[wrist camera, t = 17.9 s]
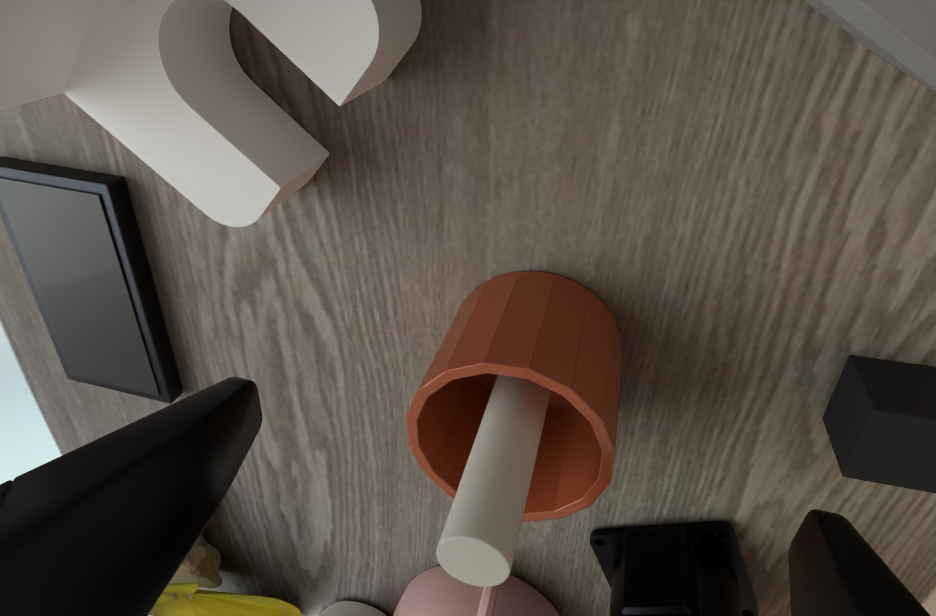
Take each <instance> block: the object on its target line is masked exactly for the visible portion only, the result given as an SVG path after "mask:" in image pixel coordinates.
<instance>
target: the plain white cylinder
mask: <svg viewBox="0 0 936 616" xmlns="http://www.w3.org/2000/svg"><path fill="white" fill-rule="evenodd" d="M550 393H551V390H549V389H547V388H545V387H543V386H541V385H539V384H537V383H535V382H532V381H530V380H528V379H524V378H518V377H511V376H504V375H497V378H496V381H495V384H494V387H493V390H492V393H491V395H490V398H489V401H488V404H487V407H486V410H485V413H484V415H483V418H482V421H481V424H480V427H479V430H478V433H477V435H476V438H475V441H474V444H473V447H472V450H471V453H470V455H469V458H468V461H467V464H466V467H465V470H464V473H463V475H462V478H461V481H460V484H459V487H458V490H457V493H456V495H455V498H454V501H453V504H452V507H451V510H450V513H449V515H448V518H447V521H446V524H445V527H444V530H443V532H442V535H441V538H440V541H439V544H438V547H437V559H438V561H439V563H440V565H441V566H442V568H443V569H444V570H445V571H446V572H447V573H449V574H450V575H451V576H453V577H454V578H456V579H458V580H460V581H462V582H464V583H467V584H470V585H474V586H480V587H491V586H496V585H499V584H501V583H503V582H504V581H506V580H507V578H508V577H509V575H510V572H511V568H512V563H513V559H514V554H515V550H516V546H517V541H518V537H519V532H520V528H521V523H522V519H523V514H524V510H525V505H526V501H527V496H528V492H529V487H530V483H531V478H532V474H533V469H534V465H535V460H536V456H537V451H538V447H539V442H540V438H541V433H542V429H543V424H544V420H545V415H546V411H547V407H548V402H549V398H550Z"/></svg>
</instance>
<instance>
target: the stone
mask: <svg viewBox="0 0 936 616" xmlns="http://www.w3.org/2000/svg"><path fill="white" fill-rule="evenodd" d="M220 565H221V555H220V553H219V551H218V549H216V548H214V547H212V546H211V545H210V544H208V543H207V542H206V540H205V539H204V538H203V535H202V534H201V535H200V537H199V538H198V540H197V541H196V543H195V544H194V546H193V547H192V549H191V550H190V552H189V553H188V555H187V556H186V558H185V560H184V561H183V563H182V564H181V566H180V567H179V569H178V570H177V572H176V573H175V575H174V576H173V578H172V579H171V581H170V582H169V584H172V583H194V582H195V583H198V584H199V585H198V587H205V588H215V587H218V586H220V585H221V584H222V579H221V577H220V575H219V567H220Z"/></svg>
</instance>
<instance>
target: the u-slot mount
mask: <svg viewBox="0 0 936 616" xmlns="http://www.w3.org/2000/svg"><path fill="white" fill-rule="evenodd" d="M233 7H234V8H235V9H236V10H238V11H239V12H240V13H241V14H242V15H243V16H244V17H246V18H247V19H248V20H249V21H250V22H251V23H252V24H253V25H254V26H255V27H256V28H257V29H258V30H259V31H260V32H261V33H262V34H263V35H265V36H266V37H267V38H268V39H269V40H270V41H271V42H272V43H273V44H274V45H275V46H276V47H277V48H278V49H279V50H280V51H281V52H282V53H284V54H285V55H286V56H287V57H288V58H289V59H290V60H291V61H292V62H293V63H294V64H295V65H296V66H297V67H298V68H299V69H300V70H301V71H303V72H304V73H305V74H306V75H307V76H308V77H309V78H310V79H311V80H312V81H313V82H314V83H315V84H316V85H317V86H318V87H319V88H320V89H322V90H323V91H324V92H325V93H326V94H327V95H328V96H329V97H330V98H331V99H332V100H333V101H334V102H335V103H336V104H337V105H338V106H339V107H340V106H342V105H343V104H345V103H347V102H349V101H350V100H352V99H354V98H356V97H358V96H359V95H361V94H363V93H365V92H366V91H368V90H370V89H372V88H373V87H375V86H377V85H379V84H381V83H382V82H384V81H386V79H387V78H388V77H389V75H390V74H391V73H392V71H393V70H394V69H395V67H396V66H397V65H398V63H399V62H400V61H401V59H402V58H403V57H404V55H405V54H406V53H407V51H408V50H409V49H410V47H411V46H412V45H413V43H414V42H415V40H416V38H417V36H418V34H419V31H420V27H421V21H422V8H421V2H420V0H0V111H1V110H5V109H8V108H12V107H15V106H19V105H23V104H26V103H30V102H33V101H37V100H41V99H44V98H48V97H51V96H55V95H59V94H62V93H64V94H65V95H66V96H68V97H69V98H70V99H71V100H72V101H73V102H75V103H76V104H77V105H78V106H79V107H80V108H82V109H83V110H84V111H85V112H86V113H87V114H89V115H90V116H91V117H92V118H93V119H95V120H96V121H97V122H98V123H99V124H100V125H102V126H103V127H104V128H105V129H106V130H107V131H109V132H110V133H111V134H112V135H113V136H114V137H116V138H117V139H118V140H119V141H120V142H121V143H123V144H124V145H125V146H126V147H127V148H128V149H130V150H131V151H132V152H133V153H134V154H136V155H137V156H138V157H139V158H140V159H141V160H143V161H144V162H145V163H146V164H147V165H148V166H150V167H151V168H152V169H153V170H154V171H155V172H157V173H158V174H159V175H160V176H161V177H162V178H164V179H165V180H166V181H167V182H168V183H169V184H171V185H172V186H173V187H174V188H175V189H176V190H178V191H179V192H180V193H181V194H182V195H184V196H185V197H186V198H187V199H188V200H189V201H191V202H192V203H193V204H194V205H195V206H196V207H198V208H199V209H200V210H201V211H202V212H203V213H205V214H206V215H207V216H208V217H210V218H211V219H213V220H215V221H217V222H219V223H221V224H223V225H227V226H231V227H244V226H248V225H250V224H252V223H254V222H255V221H257V220H258V219H259V218H261V217H262V216H263V215H265V214H266V213H268V212H269V211H270V210H272V209H273V208H274V207H276V206H277V205H278V204H280V203H281V202H283V201H284V200H285V199H287V198H288V197H289V196H291V195H292V194H293V193H295V192H296V191H298V190H299V189H300V188H302V187H303V186H304V185H306V184H307V183H308V182H309V181H310V180H311V179H312V177H313V176H314V175H315V173H316V172H317V171H318V169H319V168H320V167H321V165H322V164H323V163H324V161H325V160H326V159H327V157H328V156H329V155H330V153H329V152H328V151H327V150H326V149H325V148H324V147H323V146H322V145H321V144H319V143H318V142H317V141H316V140H315V139H314V138H313V137H312V136H311V135H310V134H309V133H308V132H306V131H305V130H304V129H303V128H302V127H301V126H300V125H299V124H298V123H297V122H296V121H295V120H293V119H292V118H291V117H290V116H289V115H288V114H287V113H286V112H285V111H284V110H283V109H282V108H280V107H279V106H278V105H277V104H276V103H275V102H274V101H273V100H272V99H271V98H270V97H269V96H268V95H266V94H265V93H264V92H263V91H262V90H261V89H260V88H259V87H258V86H257V85H256V84H255V83H253V81H252V80H251V79H250V78H249V77H248V76H247V75H246V74H245V72H244V71H243V70H242V68H241V66H240V64H239V63H238V61H237V59H236V57H235V54H234V51H233V49H232V46H231V41H230V34H229V23H230V14H231V12H232V9H233Z"/></svg>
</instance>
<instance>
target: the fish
mask: <svg viewBox="0 0 936 616" xmlns="http://www.w3.org/2000/svg"><path fill="white" fill-rule="evenodd" d="M198 585H199V584H198V583H195V582H194V583H172V584H168V585H167V587H166V588H165V590H164V592H163V593H162V595H161V596H160V598H159V599H158V601H157V602H156V604H155V605H154V607H153V608H152V610H151V611H150V613H149V614H150V615H154V616H301V614H302V613H301V612H300V610H299V609H298V608H297V607H296V606H294V605H293V604H291V603H288V602H286V601H283V600H281V599H276V598H271V597H266V596H257V595H246V594H234V593H227V592H216V591H207V590H197V588H198Z"/></svg>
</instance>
